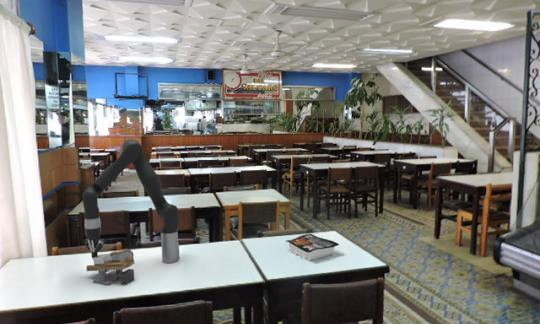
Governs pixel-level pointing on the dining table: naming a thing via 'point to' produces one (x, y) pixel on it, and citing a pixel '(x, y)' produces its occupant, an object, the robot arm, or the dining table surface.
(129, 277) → the pivot stand
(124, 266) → the balance beam
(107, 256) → the block
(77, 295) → the dining table surface
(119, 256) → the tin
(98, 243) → the robot arm
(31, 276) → the dining table surface
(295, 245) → the food packaging
